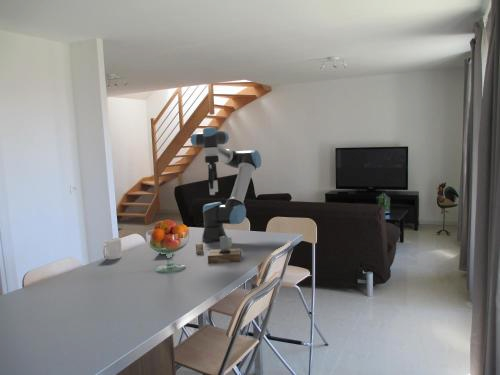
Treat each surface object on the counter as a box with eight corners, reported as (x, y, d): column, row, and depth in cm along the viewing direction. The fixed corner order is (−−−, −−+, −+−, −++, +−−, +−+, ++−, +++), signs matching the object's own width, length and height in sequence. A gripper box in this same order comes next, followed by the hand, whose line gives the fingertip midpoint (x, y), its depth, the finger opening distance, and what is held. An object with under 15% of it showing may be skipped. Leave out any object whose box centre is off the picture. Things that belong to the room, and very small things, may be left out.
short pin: (196, 252, 228) (196, 243, 228) (204, 251, 228) (203, 242, 228) (195, 254, 224) (194, 245, 224) (202, 253, 224) (202, 244, 224)
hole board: (211, 257, 216) (211, 249, 215) (241, 255, 215) (241, 248, 214) (208, 263, 204) (207, 255, 203) (240, 262, 203) (239, 254, 203)
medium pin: (225, 250, 227) (224, 236, 226) (232, 250, 227) (231, 236, 226) (224, 252, 223) (223, 238, 223) (231, 252, 223) (231, 237, 222)
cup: (125, 256, 229) (123, 238, 228) (110, 262, 218) (108, 243, 217) (114, 255, 232) (112, 237, 231) (98, 261, 221) (96, 242, 220)
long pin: (221, 258, 212) (220, 236, 210) (229, 258, 211) (228, 235, 210) (220, 260, 208) (219, 237, 206) (228, 260, 207) (227, 237, 206)
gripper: (208, 155, 241) (210, 191, 243) (201, 156, 216) (203, 196, 218) (220, 154, 240) (223, 190, 242) (215, 155, 215) (217, 195, 218)
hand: (214, 193), depth 230 cm, fingers open, 13 cm apart
